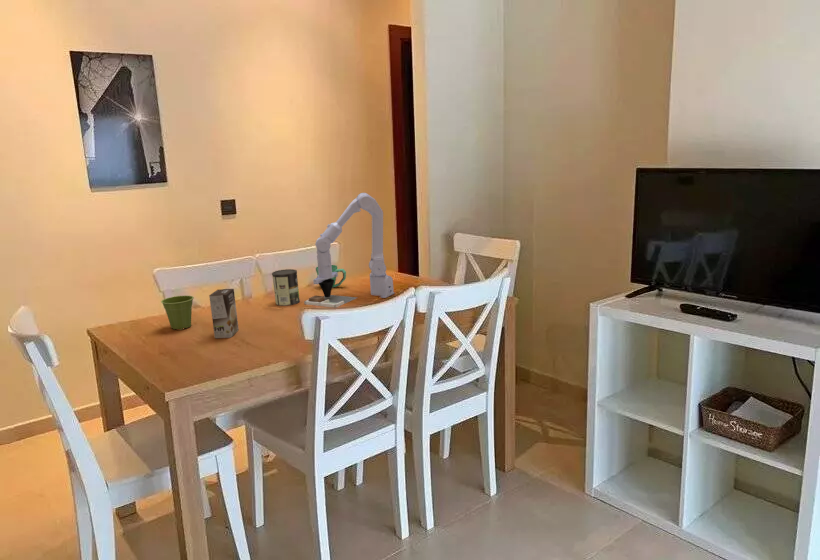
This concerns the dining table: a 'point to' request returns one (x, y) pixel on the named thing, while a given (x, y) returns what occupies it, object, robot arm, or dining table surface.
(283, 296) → the coffee can
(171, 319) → the plant pot
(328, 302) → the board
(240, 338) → the dining table surface
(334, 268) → the mug
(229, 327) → the coffee box
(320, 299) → the token
